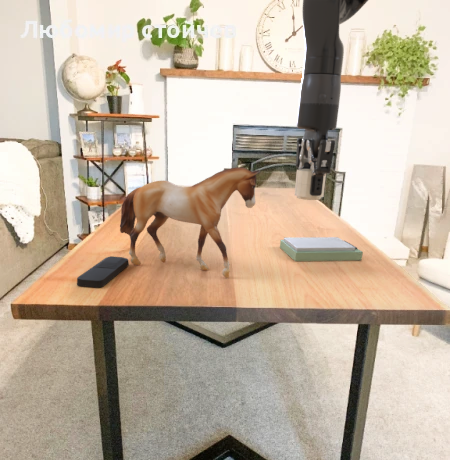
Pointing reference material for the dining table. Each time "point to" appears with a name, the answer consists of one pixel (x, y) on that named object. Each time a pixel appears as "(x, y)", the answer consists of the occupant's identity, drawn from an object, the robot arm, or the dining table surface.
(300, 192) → the white ceramic cup
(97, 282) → the remote control
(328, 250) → the scale
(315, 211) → the dining table surface
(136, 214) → the horse figurine
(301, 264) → the dining table surface
